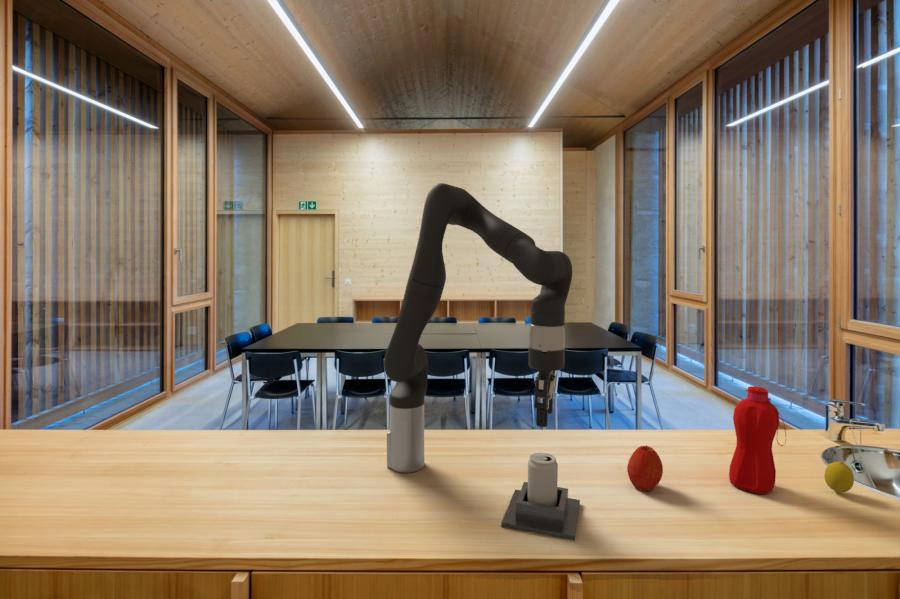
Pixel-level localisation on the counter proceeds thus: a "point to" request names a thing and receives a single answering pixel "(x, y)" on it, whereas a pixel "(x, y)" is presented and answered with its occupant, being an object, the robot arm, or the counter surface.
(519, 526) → the grey square socket holder
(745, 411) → the water bottle
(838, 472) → the lemon
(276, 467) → the counter surface
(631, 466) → the apple
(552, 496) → the beverage can
